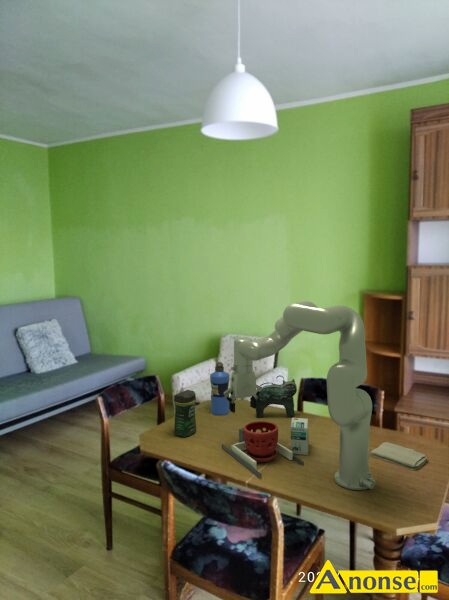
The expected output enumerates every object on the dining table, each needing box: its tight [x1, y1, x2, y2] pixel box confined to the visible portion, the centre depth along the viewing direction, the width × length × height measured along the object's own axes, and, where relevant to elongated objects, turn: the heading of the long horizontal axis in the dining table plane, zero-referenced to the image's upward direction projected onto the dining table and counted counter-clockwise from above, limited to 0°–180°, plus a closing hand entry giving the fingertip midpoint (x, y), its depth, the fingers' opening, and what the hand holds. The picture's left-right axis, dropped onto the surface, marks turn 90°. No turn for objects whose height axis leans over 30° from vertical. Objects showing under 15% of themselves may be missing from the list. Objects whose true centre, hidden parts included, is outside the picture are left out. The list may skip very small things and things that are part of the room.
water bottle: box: [209, 361, 230, 417], centre depth 214 cm, size 9×9×25 cm
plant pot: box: [243, 420, 279, 463], centre depth 167 cm, size 13×13×12 cm
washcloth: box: [369, 441, 429, 471], centre depth 165 cm, size 12×18×3 cm, turn 45°
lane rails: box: [221, 443, 305, 480], centre depth 168 cm, size 28×19×2 cm
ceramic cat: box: [255, 374, 298, 419], centre depth 208 cm, size 20×6×20 cm, turn 89°
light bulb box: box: [290, 417, 309, 456], centre depth 174 cm, size 11×7×11 cm, turn 168°
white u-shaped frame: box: [230, 427, 294, 471], centre depth 170 cm, size 22×17×6 cm
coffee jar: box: [173, 389, 197, 438], centre depth 190 cm, size 10×8×19 cm
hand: (242, 409), depth 178 cm, fingers open, 9 cm apart
